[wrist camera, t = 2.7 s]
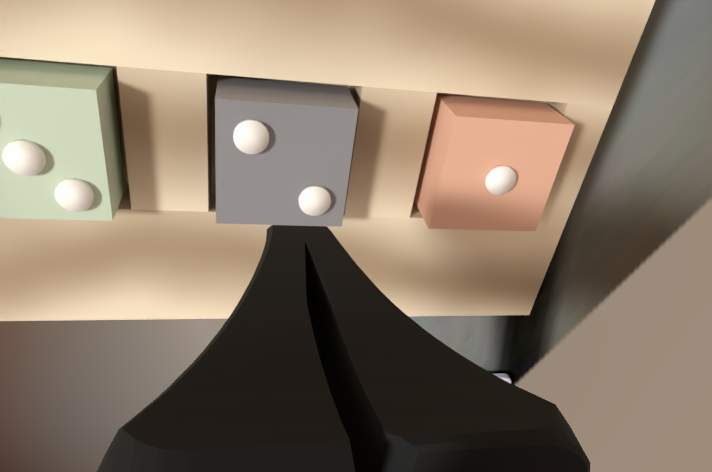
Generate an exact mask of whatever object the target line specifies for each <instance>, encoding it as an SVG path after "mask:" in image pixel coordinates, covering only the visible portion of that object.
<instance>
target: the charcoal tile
mask: <svg viewBox="0 0 712 472" xmlns="http://www.w3.org/2000/svg"><path fill="white" fill-rule="evenodd" d="M357 116H358V107H357V105H356V103H355V101H354V99H353V97H352V95H351V93H350V91H349V89H348V87H342V86H329V85H317V84H305V83H292V82H280V81H268V80H255V79H243V78H231V77H219V76H218V82H217V89H216V95H215V167H216V223H218V224H258V225H298V226H338V227H342V222H343V215H344V208H345V201H346V194H347V187H348V180H349V173H350V165H351V158H352V151H353V144H354V137H355V130H356V123H357Z"/></svg>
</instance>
